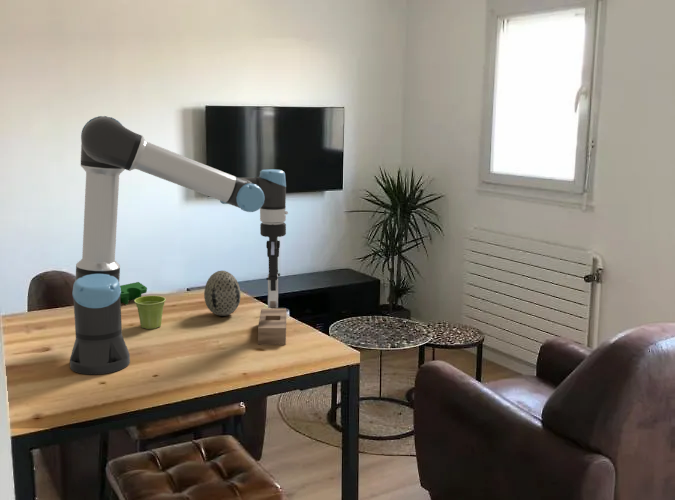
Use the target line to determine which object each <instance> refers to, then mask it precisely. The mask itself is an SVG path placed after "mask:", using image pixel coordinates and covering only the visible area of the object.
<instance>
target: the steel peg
mask: <svg viewBox="0 0 675 500" xmlns="http://www.w3.org/2000/svg"><path fill="white" fill-rule="evenodd" d="M268 277H269V273H268V274H267V278H268ZM277 277H278V278H279V276H278V275H277ZM267 307H268V308H269V309H279V300H278V301H269V280H267Z"/></svg>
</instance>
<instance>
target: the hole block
mask: <svg viewBox="0 0 675 500" xmlns="http://www.w3.org/2000/svg"><path fill="white" fill-rule="evenodd" d="M286 340H287V308H266V307H265V308H263V307H262V308H261V309H260V314H259V320H258V328H257V345H264V346H265V345H275V346H276V345H286V342H287V341H286Z"/></svg>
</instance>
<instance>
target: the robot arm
mask: <svg viewBox="0 0 675 500" xmlns="http://www.w3.org/2000/svg"><path fill="white" fill-rule="evenodd" d="M80 133H81V135H80V142H81V145H80V147H81V148H80V150H81V151H80V167H81V168H82V169H83V170H84V171H85V189H84V191H85V192H84V193H85V194H84V209H83V210H84V213H83V232H82V233H83V234H82V236H83V237H82V255H81V256H82V257H81V258H80V260H79V261H77V263H76V264H75V265H76V266H75V281H74V282H73V285H72V286H73V287H72V291H71V292H72V294H71V295H72V299H73V311H74V329H75V331H74V332H75V341H74V343H73V347H72V349H71V350H72V351H71V354H70V357H69V368H70V369H71V370H72V371H73V372H75V373H76V374H77V373H78V374H83V375H104V374H105V375H106V374H109V373H114V372H118V371H121V370H122V369H125V368H127V367H128V366H129V365H130V364H131V359H130V358H131V355H130V351H129V349H128V346H127V344H126V341H125V339H124V337H123V331H122V330H123V329H122V328H123V327H122V326H123V325H122V302H121V300H120V294H121V288H120V286H121V285H120V275H121V273H120V272H121V265H120V264H119V263H118V262H117V260H115V259H116V243H117V242H116V241H117V239H116V238H117V226H118V225H117V222H118V205H119V186H120V175H121V174H122V173H123V172H124V171H125V170H126V171H129V172H131V171H133V170H138V171H140V172H142V173H146V174H149V175H151V176H153V177H156V178H159V179H162V180H164V181H168V183H169V182H170V183H172V184H175V185H178V186H181V187H183V188H185V189H189V190H192V191H194V192H197V193H198V194H202V195H203V196H204V195H205V196H207V197H210V198H213V199H215V200H218V201H219V203H221V204H223V205H231V206H234V207H236V208H239V209H240V210H241V211H244V212H247V213H254V212H257V211H259V221H260V222H261V223H260V225H259V226H260V236H261V237H265V238H268V240H266V253H267V258H268V274H269V277H268V276H267V277H266V281H268V280H269V301H278V302H279V277H281V273H279V269H278V265H279V263H278V262H279V259H278V258H279V257H280V247H281V241H280V240H278V237H279V238H282V237H284V236H286V234H287V224H286V223H285V222H286V215H288V214H289V212H288V211H287V210H286V209H287V208H286V205H287V204H286V199H287V196H286V195H287V181H286V173H285V171H283V170H282V169H275V168H274V169H270V168H269V169H261V170H260V171H259V176H255V177H237V176H235V175H232V174H230V173H227V172H224V171H222V170H219V169H217V168H214V167H212V166H209V165H206V164H204V163H203V162H199V161H196V160H194V159H191V158H189V157H187V156H184V155H182V154H179V153H176V152H173V151H171V150H168V149H166V148H163V147H162V146H159V145H156V144H154V143H151V142H148V141H146V140H145V137H144V136H143V135H142V134H139V133H136V132H135V131H132V130H131V129H128V128H126V127H125V126H124V125H123V124H122V123H121V122H120V121H119V120H117V119H116V118H113V117H109V116H108V115H107V116H105V115H104V116H102V115H100V116H99V115H98V116H95V117H92V118H90V119H89V120H87V122H86V123H85V124H84V126H83V128H82V130H81V132H80ZM277 275H278V277H277Z"/></svg>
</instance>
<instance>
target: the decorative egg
mask: <svg viewBox="0 0 675 500" xmlns="http://www.w3.org/2000/svg"><path fill="white" fill-rule="evenodd" d="M203 293H204V295H203V296H204V298H203V299H204V302H205V305H206V308H207V309H208V311H210V312H212V314H214V315H216V316H218V317H219V316H220V317H226V316H229V315H231V314H233V313H234V312H235V311H236V310H237V308H238V307H239V304H240V302H241V288H240V285H239V282H238V280H237V279H236V277H235V276H234V275H233V274H232V273H230V272H229V271H226V270H217V271H214V272H213V274H211V275H210V276H209V277H208V279H207V281H206V282H205V286H204V291H203Z"/></svg>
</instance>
